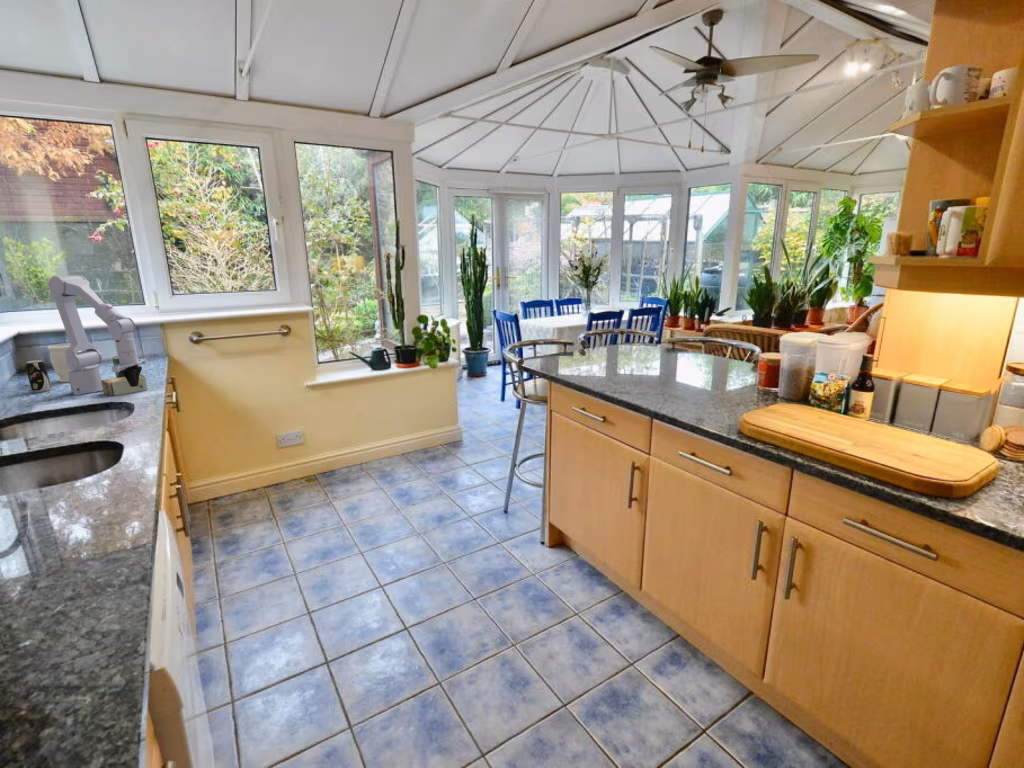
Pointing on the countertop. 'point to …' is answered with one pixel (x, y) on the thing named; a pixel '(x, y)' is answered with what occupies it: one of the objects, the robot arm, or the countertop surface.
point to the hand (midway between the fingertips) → (134, 386)
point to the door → (126, 387)
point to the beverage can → (38, 376)
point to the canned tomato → (115, 362)
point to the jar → (60, 361)
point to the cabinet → (105, 386)
